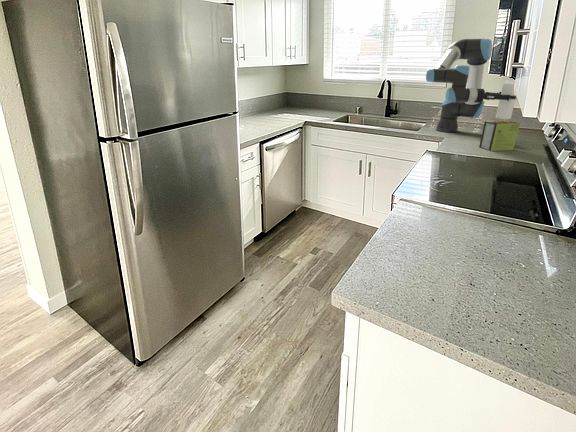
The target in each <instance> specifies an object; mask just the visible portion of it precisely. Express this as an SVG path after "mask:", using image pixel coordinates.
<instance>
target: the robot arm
mask: <svg viewBox="0 0 576 432" xmlns="http://www.w3.org/2000/svg"><path fill="white" fill-rule="evenodd" d="M492 43H493V42H492V40H491V39H489V38H462V39H459V40H457V41H455V42H453V43H451V44H450V45H449V46H448V47H447V48H446V49H445V51H444V55H443V56H442V57H441V59H440V60H439V62H437V65H436V66H435V67H434V68H433V67H432V68H431V67H430V68H428V69H427V71H426V73H425V81H426V82H429V83H439V84H440V83H443V84H451V87H449V88H447V89H446V92H445V98H444V99H443V100H442V105H441V110H440V111H441V112H440V117H439V121H438V122H437V124H436V126H435V131H438V132H444V133H457V132H459V124H458V123H459V122H458V118H459V117H460V118H471V119H479V117H480V116H481V114H482V112H483V108H484V106H485V101H484V100H487V101H490V100H491V101H495V100H498V101H499V100H507V101H509V100H515V101H518V100H517V97H516V96H515V95H501V92H502V91H499V92H491V91H490V92H489V91H485V89H484V88H482V84H483V77H484V76H483V75H484V69H485V64H487V63H488V61H489V60H491V58H492V57H491V56H492V51H493V44H492ZM458 60H467V61H466V64H467V65H462V64H461V65H458V64H457V65H455V67H454V68H452V67H453V65H454V64H455V62H456V61H458Z"/></svg>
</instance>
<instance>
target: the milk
mask: <svg viewBox="0 0 576 432" xmlns="http://www.w3.org/2000/svg"><path fill="white" fill-rule="evenodd" d="M509 77H510V76H507V77H506V80H505V81H504V82H503V83H502V87H501V91H500V92H501V95H514V80H513V79H512V78H509ZM515 103H516V100H509V101H507V100H498V106H497V110H496V114H495V119H498V120H499V119H500V120H509V119H511V118H512V116H513V111H514V107H515Z"/></svg>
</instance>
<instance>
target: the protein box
mask: <svg viewBox="0 0 576 432" xmlns="http://www.w3.org/2000/svg"><path fill="white" fill-rule="evenodd" d="M520 125H521V123H520V122H516V121H511V120H508V119H504V120H486V121H484V123H483V127H482V128H483V129H482V133H481V137H480V140H479V141H480V142H479V148H481V149H484V150H487V151H490V152H491V151H492V152H497V151H499V152H500V151H514V148H515V144H516V141H517V138H518V137H517V136H518V132H519V130H520Z"/></svg>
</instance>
